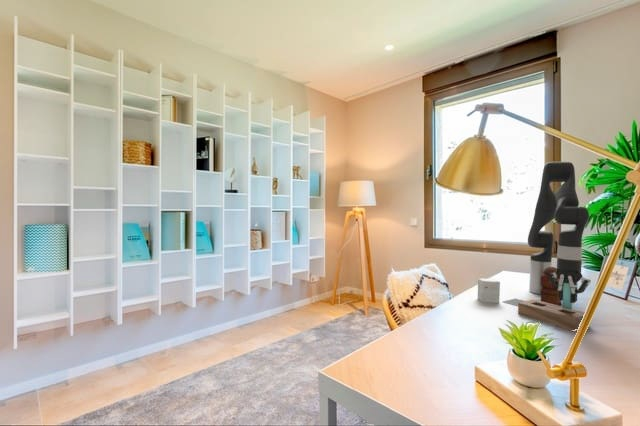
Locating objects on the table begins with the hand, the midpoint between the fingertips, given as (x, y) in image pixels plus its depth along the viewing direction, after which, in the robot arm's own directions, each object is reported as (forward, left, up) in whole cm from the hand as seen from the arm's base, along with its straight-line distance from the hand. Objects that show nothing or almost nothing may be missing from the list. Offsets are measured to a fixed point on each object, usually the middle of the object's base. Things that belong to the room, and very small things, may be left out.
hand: (567, 301), depth 122 cm
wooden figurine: (-22, -15, -9) cm, 28 cm away
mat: (-10, -22, -9) cm, 26 cm away
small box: (0, -32, -9) cm, 33 cm away
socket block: (0, -5, -9) cm, 10 cm away
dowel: (0, 0, -3) cm, 3 cm away
